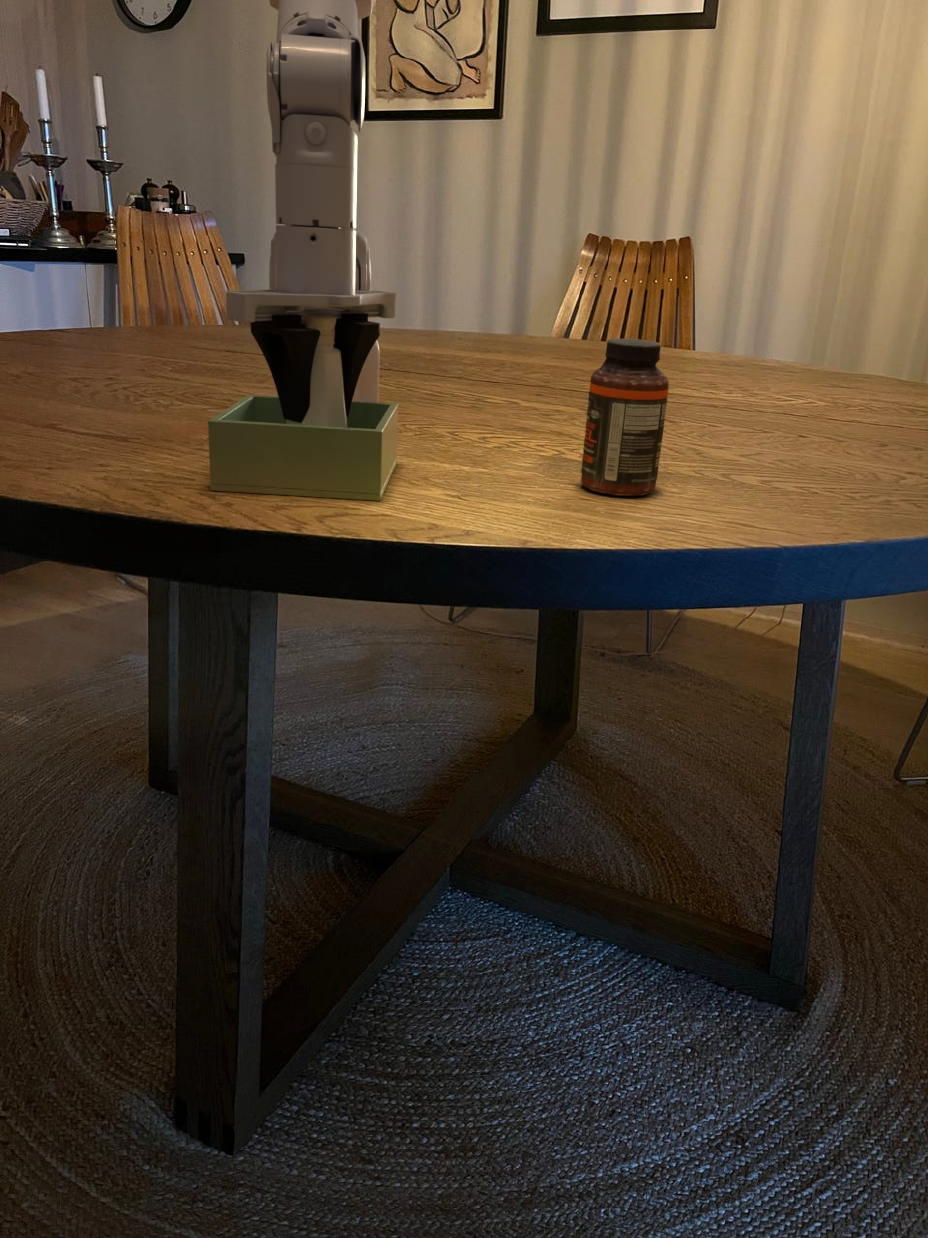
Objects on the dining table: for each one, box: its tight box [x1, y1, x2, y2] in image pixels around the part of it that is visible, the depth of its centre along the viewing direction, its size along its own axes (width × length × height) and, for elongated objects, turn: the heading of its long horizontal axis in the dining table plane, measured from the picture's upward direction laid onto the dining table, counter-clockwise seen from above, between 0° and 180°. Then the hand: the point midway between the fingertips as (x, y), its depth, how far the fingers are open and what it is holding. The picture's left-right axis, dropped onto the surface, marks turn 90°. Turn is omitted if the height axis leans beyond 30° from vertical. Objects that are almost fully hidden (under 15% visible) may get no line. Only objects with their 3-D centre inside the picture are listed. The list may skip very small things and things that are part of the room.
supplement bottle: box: [580, 338, 670, 497], centre depth 77 cm, size 6×6×11 cm
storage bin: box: [207, 394, 399, 502], centre depth 76 cm, size 12×12×5 cm
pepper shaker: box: [286, 315, 347, 428], centre depth 75 cm, size 5×5×11 cm
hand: (316, 417), depth 76 cm, fingers closed on pepper shaker, 3 cm apart
